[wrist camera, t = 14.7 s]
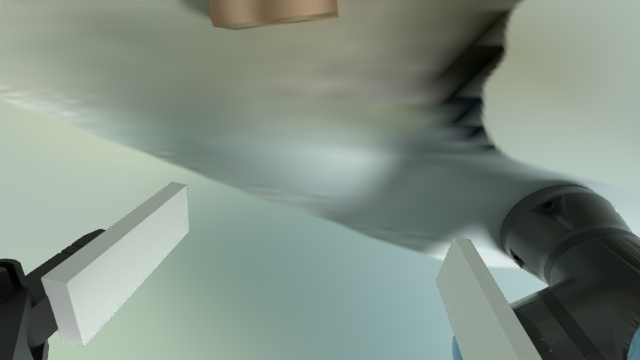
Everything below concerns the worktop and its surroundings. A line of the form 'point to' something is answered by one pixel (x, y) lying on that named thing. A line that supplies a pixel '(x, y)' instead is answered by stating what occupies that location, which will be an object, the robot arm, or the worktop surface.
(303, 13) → the walnut block
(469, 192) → the worktop surface
